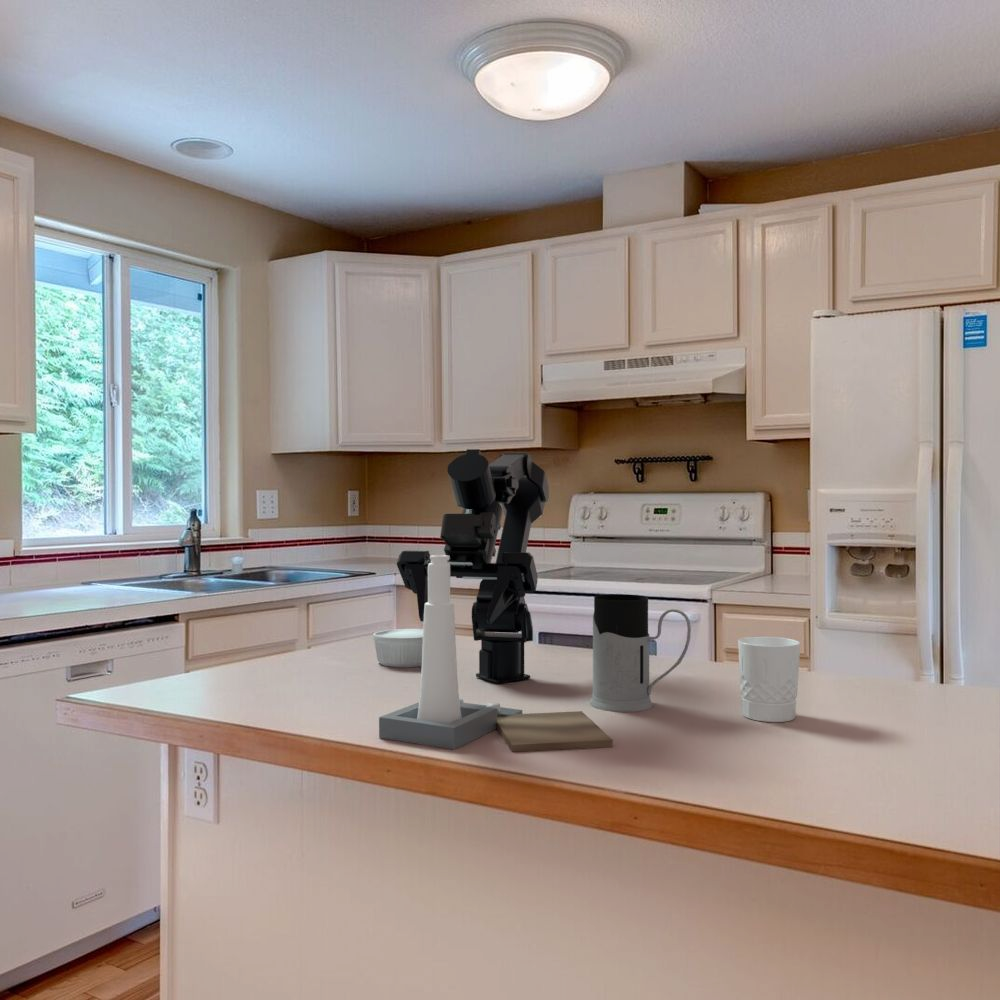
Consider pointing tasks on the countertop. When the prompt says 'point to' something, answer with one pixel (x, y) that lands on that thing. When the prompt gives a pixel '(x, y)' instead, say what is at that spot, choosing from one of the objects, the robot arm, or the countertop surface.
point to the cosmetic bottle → (439, 649)
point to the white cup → (769, 677)
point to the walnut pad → (551, 731)
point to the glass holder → (624, 652)
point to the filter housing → (442, 725)
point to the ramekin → (399, 647)
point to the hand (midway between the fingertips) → (454, 620)
